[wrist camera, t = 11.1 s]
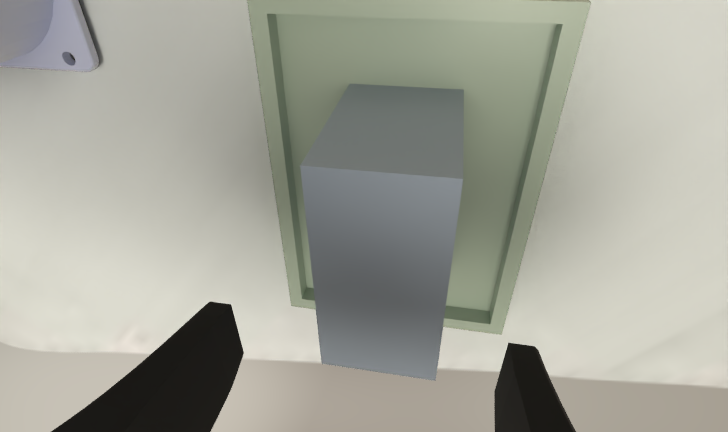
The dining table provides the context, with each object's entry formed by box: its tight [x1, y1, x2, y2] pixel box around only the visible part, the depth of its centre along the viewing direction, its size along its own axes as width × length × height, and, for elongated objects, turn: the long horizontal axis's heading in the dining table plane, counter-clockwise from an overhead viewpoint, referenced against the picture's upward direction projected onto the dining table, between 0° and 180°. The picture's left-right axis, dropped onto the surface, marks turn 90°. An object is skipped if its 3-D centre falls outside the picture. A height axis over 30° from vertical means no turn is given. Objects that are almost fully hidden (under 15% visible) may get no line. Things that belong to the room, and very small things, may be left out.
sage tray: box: [247, 0, 591, 335], centre depth 18 cm, size 10×14×1 cm
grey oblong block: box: [300, 84, 464, 380], centre depth 16 cm, size 4×9×6 cm, turn 1°
